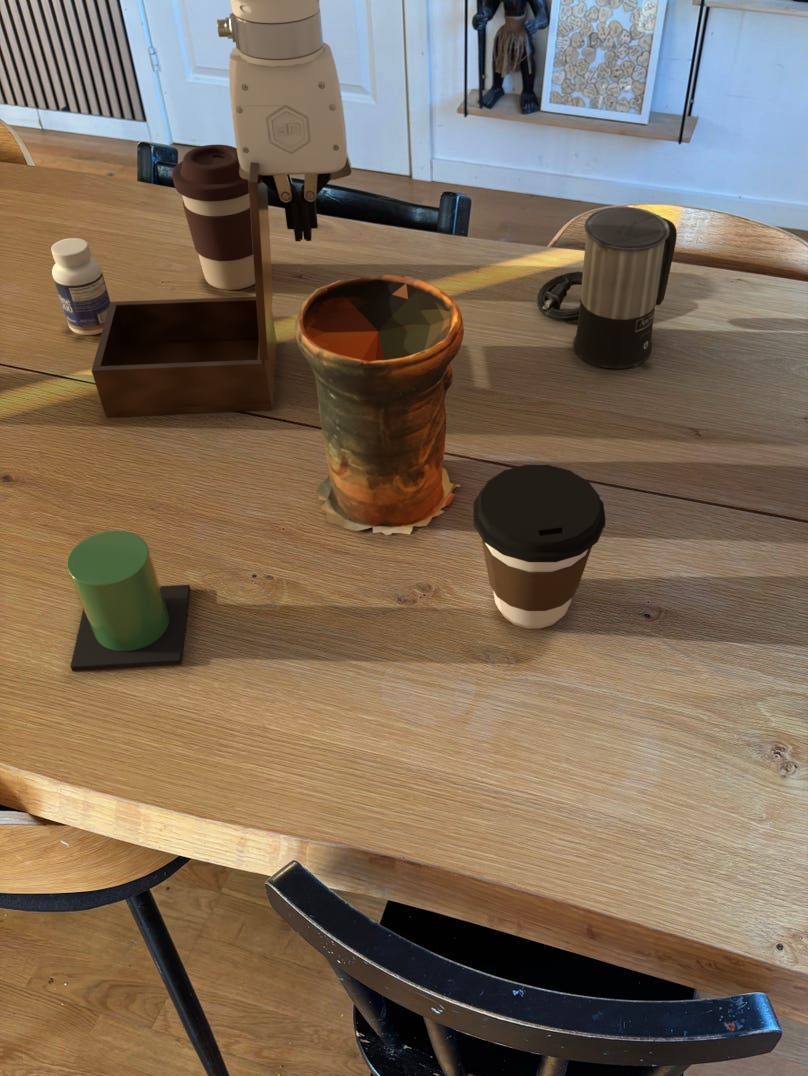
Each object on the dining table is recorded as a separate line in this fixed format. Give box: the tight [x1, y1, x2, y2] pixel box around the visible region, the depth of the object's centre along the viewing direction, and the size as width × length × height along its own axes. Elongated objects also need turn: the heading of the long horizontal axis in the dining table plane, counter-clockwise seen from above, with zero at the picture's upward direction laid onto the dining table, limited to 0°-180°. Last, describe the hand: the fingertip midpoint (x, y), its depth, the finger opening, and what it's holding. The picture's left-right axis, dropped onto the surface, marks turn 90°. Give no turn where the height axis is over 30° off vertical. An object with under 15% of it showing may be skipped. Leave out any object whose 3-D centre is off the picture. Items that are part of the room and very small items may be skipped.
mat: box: [70, 584, 191, 672], centre depth 88 cm, size 9×9×1 cm
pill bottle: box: [50, 237, 112, 336], centre depth 117 cm, size 5×5×10 cm
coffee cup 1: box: [171, 144, 255, 291], centre depth 123 cm, size 10×10×15 cm
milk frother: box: [536, 206, 678, 370], centre depth 116 cm, size 14×16×15 cm
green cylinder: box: [66, 530, 169, 651], centre depth 85 cm, size 6×6×8 cm
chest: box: [91, 295, 278, 418], centre depth 111 cm, size 18×14×6 cm
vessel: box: [294, 274, 465, 536], centre depth 93 cm, size 14×14×20 cm
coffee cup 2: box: [472, 464, 607, 630], centre depth 87 cm, size 11×11×12 cm
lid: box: [248, 162, 274, 360], centre depth 103 cm, size 18×14×1 cm
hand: (303, 234), depth 103 cm, fingers closed
